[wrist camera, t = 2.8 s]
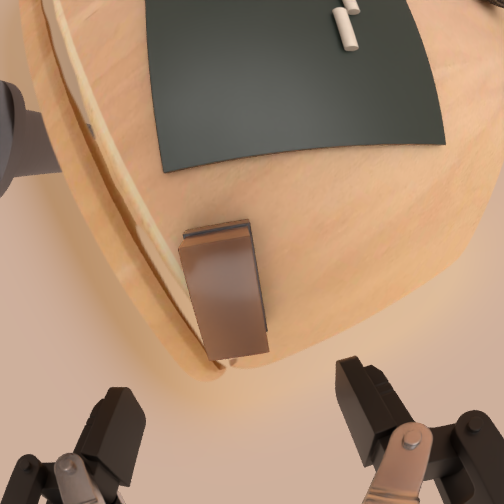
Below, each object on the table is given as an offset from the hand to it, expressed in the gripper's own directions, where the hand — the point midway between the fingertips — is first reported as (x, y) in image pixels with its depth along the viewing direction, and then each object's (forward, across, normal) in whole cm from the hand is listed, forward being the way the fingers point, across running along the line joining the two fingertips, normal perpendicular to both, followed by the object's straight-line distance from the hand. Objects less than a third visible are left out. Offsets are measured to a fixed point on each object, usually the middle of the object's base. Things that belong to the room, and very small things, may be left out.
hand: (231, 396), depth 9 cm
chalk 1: (+11, -14, -22) cm, 29 cm away
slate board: (+13, -9, -18) cm, 24 cm away
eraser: (+13, 0, 0) cm, 13 cm away
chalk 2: (+12, -12, -18) cm, 25 cm away
